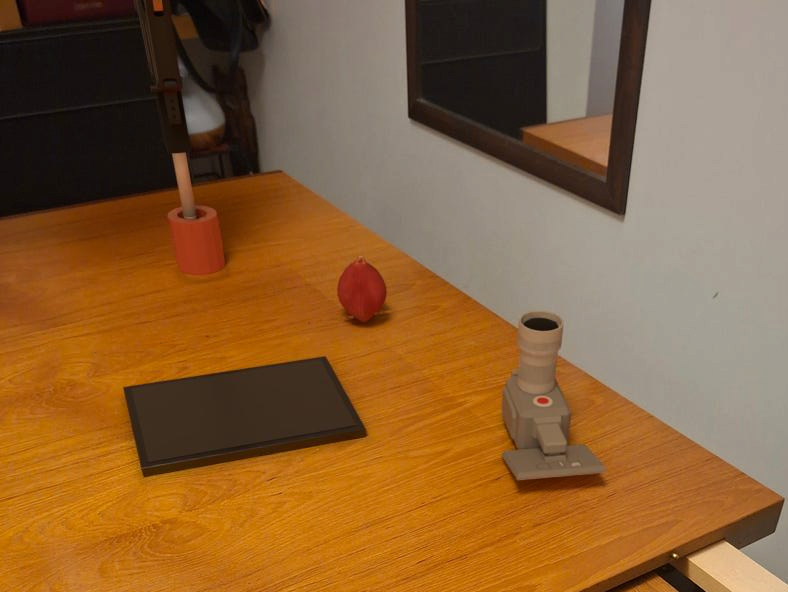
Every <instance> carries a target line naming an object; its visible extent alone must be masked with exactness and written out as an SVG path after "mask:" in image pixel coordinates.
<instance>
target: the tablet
mask: <svg viewBox="0 0 788 592" xmlns="http://www.w3.org/2000/svg"><path fill="white" fill-rule="evenodd" d="M122 390H123V395H124V398H125V403H126V407H127V412H128V416H129V420H130V425H131V430H132V434H133V438H134V443H135V447H136V451H137V456H138V461H139V465H140V469H141V473H142V476H143V477H144V478H146V477H150V476H156V475H161V474H167V473H172V472H178V471H183V470H188V469H189V470H190V469H193V468H194V469H195V468H199V467H206V466H211V465H217V464H222V463H228V462H233V461H238V460H244V459H245V460H246V459H249V458H255V457H260V456H265V455H273V454H278V453H284V452H288V451H294V450H299V449H305V448H311V447H316V446H317V447H318V446H321V445H328V444H332V443H338V442H339V443H340V442H343V441H349V440H355V439H360V438H366V437H367V428H366V427H365V425H364V422H363V421H362V419H361V418H360V415H359V413H358V412H357V410H356V408H355V406H354V404H353V403H352V401H351V399H350V398H349V397H350V396H348V394H347V392H346V390H345V388H344V387H343V385H342V382H341V381H340V379H339V377H338V376H337V374H336V372H335V371H334V369H333V367H332V365H331V363H330V362H329V359H328V358H327V356H326V355H324V356H323V355H322V356H317V357H310V358H304V359H298V360H290V361H285V362H278V363H277V362H276V363H272V364H265V365H259V366H251V367H245V368H238V369H232V370H225V371H219V372H214V373H213V372H212V373H206V374H199V375H193V376H186V377H181V378H180V377H179V378H171V379H166V380H160V381H153V382H146V383H140V384H134V385H133V384H132V385H127V386H123V387H122Z"/></svg>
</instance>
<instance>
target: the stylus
mask: <svg viewBox="0 0 788 592" xmlns="http://www.w3.org/2000/svg"><path fill="white" fill-rule="evenodd" d="M171 155H172V160H173V166H174V171H175V177H176V182H177V188H178V194H179V198H180V205H181V207H182V210H183V215H184V218H185V219H190V220H191V219H196V209H195V205H196V204H195V198H194V192H193V188H192V187H193V186H192V182H191V181H192V180H191V175H190V170H189V164H188V163H189V162H188V158H187V153H174V154H171Z"/></svg>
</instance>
